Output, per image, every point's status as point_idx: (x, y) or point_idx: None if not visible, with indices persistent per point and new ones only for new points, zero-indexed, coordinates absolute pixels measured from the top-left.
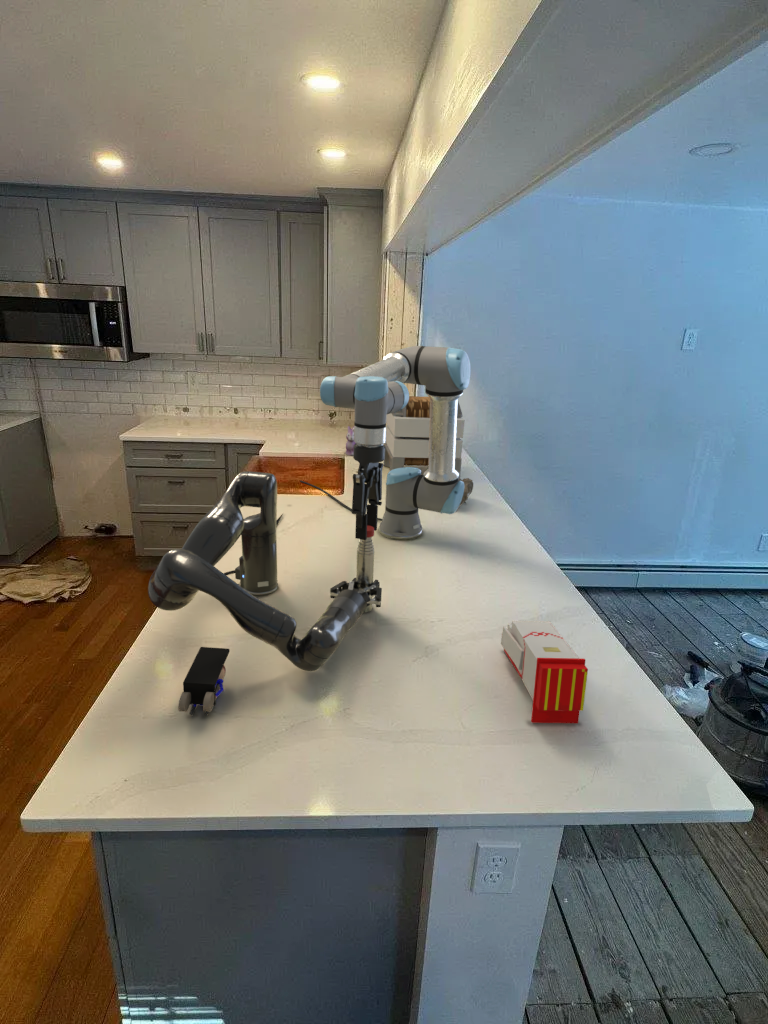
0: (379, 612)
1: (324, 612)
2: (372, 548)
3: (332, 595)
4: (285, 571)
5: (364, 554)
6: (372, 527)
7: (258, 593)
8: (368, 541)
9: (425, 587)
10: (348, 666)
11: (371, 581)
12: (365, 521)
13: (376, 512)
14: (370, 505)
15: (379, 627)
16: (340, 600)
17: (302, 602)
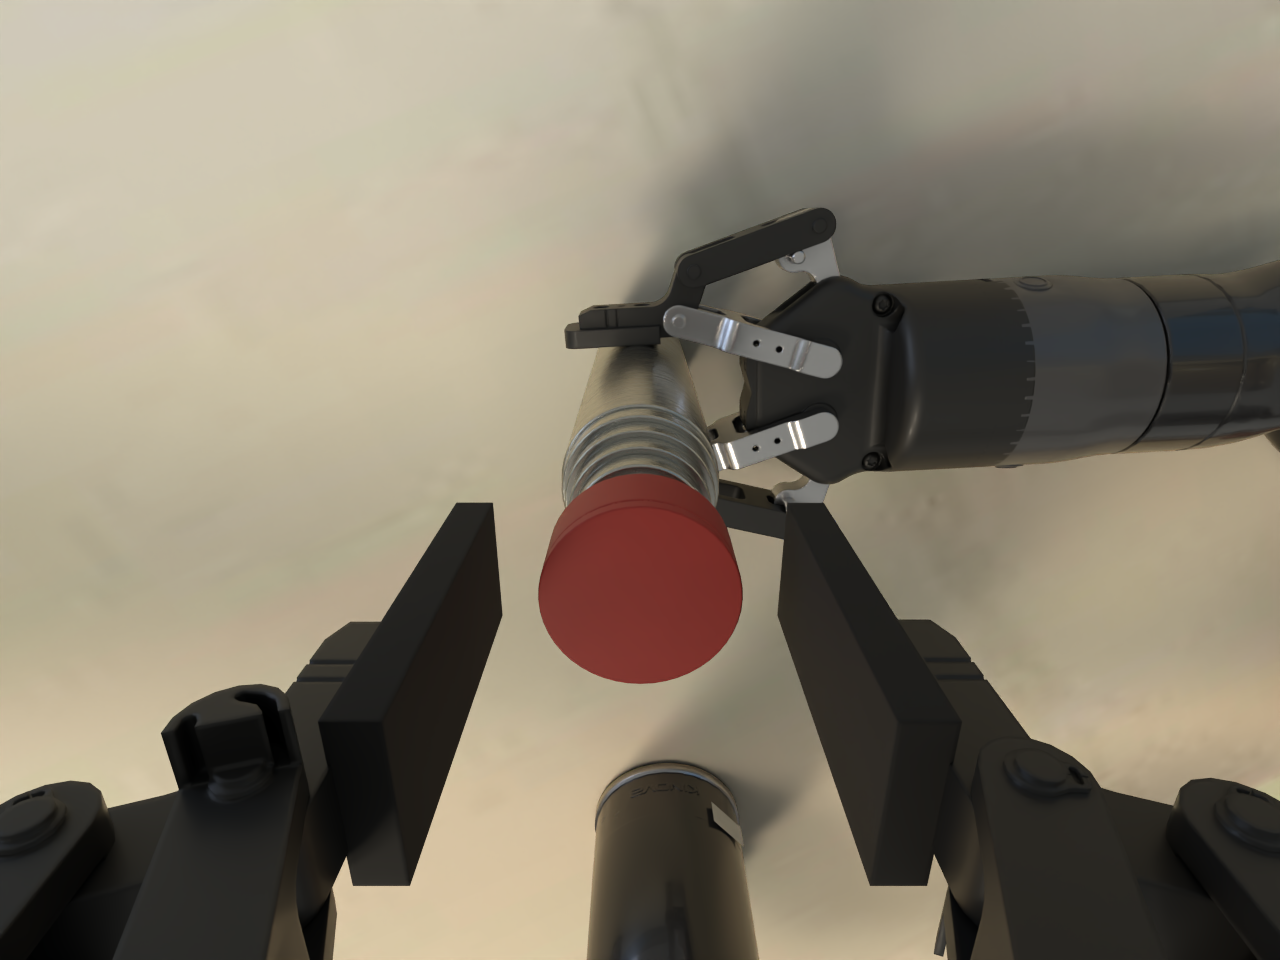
0: (642, 266)
1: (1176, 441)
2: (652, 426)
3: None
4: (484, 805)
5: (715, 462)
6: (580, 545)
7: (733, 801)
8: None
9: (218, 106)
10: (1175, 213)
11: (655, 351)
12: (912, 649)
13: (419, 646)
14: (380, 835)
15: (790, 206)
16: (1086, 404)
17: None
